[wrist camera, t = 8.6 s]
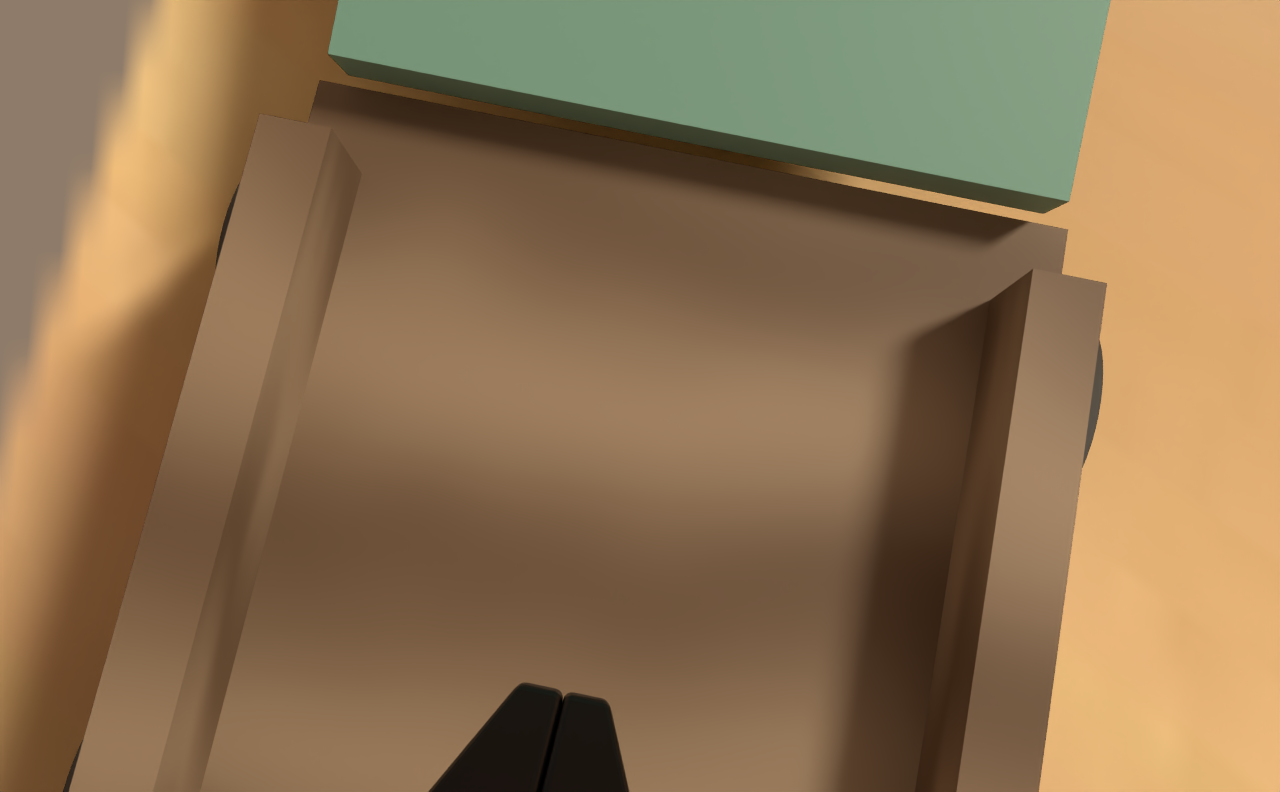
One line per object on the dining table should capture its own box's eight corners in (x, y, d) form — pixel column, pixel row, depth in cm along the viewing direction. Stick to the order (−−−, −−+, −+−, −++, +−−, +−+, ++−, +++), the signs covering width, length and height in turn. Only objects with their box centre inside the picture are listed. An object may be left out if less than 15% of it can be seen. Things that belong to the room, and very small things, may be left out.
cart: (923, 1076, 20) (1045, 1286, 14) (126, 905, 21) (-75, 1041, 15) (1036, 296, 23) (1180, 202, 17) (327, 154, 23) (226, 12, 17)
